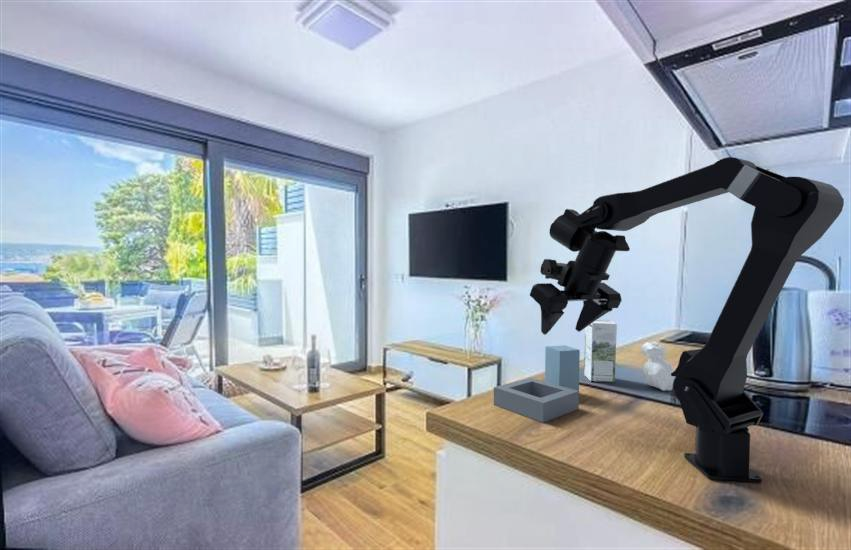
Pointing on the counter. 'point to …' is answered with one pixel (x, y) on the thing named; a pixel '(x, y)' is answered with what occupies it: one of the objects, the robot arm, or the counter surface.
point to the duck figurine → (657, 367)
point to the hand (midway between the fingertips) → (560, 331)
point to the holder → (536, 399)
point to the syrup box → (600, 351)
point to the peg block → (562, 366)
